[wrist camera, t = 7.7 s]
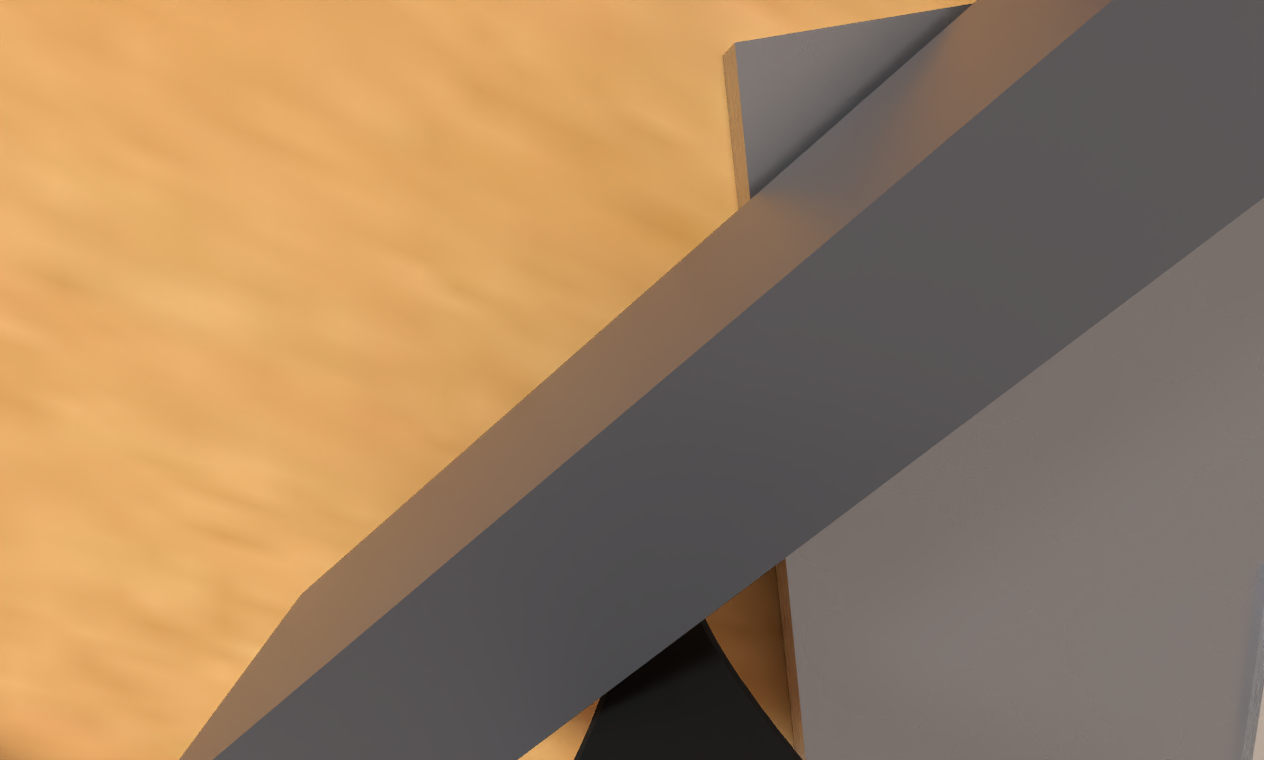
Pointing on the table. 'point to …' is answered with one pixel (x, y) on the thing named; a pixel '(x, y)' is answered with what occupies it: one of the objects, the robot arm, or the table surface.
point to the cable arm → (774, 378)
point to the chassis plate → (1036, 505)
